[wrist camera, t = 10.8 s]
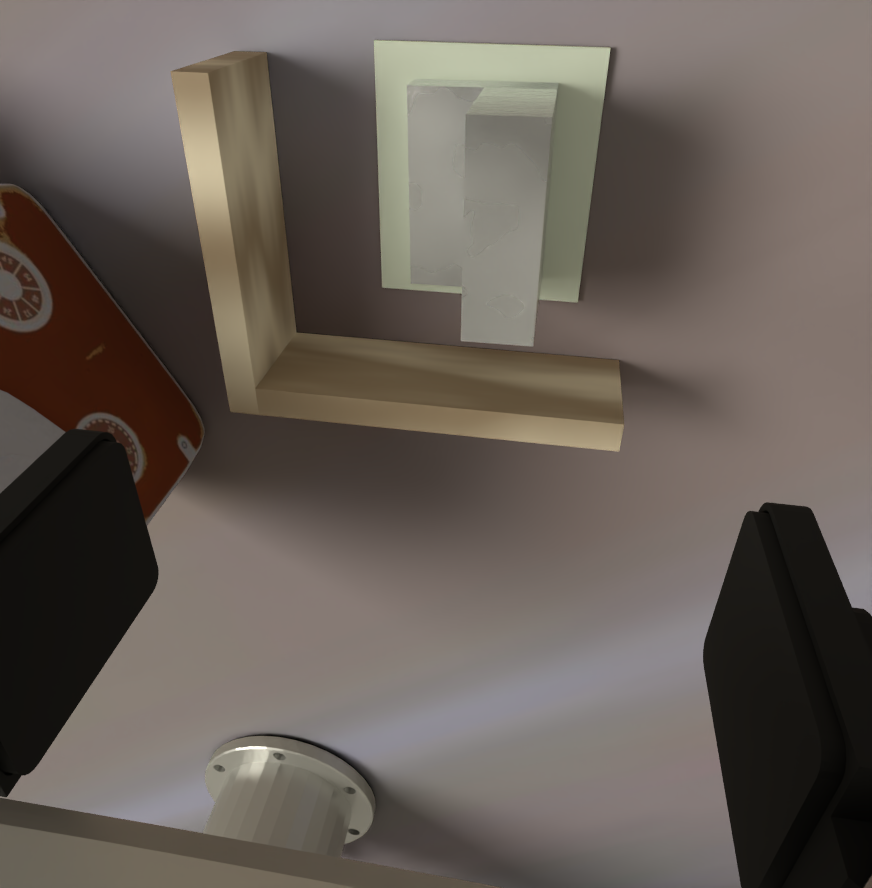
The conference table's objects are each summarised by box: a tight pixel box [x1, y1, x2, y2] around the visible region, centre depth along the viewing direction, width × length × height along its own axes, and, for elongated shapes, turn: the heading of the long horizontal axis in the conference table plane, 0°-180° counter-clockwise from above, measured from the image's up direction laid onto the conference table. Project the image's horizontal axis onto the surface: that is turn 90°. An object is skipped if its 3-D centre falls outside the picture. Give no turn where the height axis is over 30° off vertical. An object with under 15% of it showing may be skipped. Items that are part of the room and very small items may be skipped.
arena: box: [171, 51, 624, 452], centre depth 27 cm, size 12×15×5 cm
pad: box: [374, 40, 610, 303], centre depth 27 cm, size 9×8×1 cm
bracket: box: [407, 79, 559, 347], centre depth 25 cm, size 5×7×6 cm
